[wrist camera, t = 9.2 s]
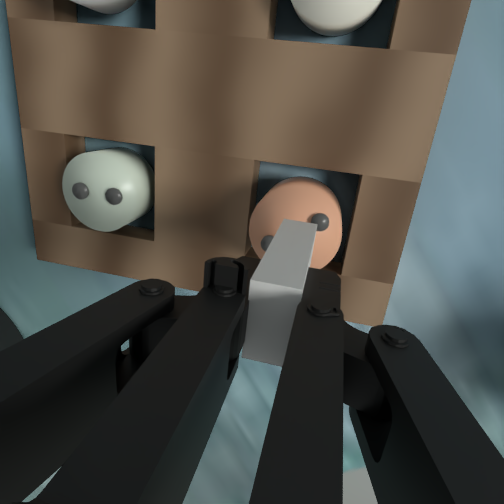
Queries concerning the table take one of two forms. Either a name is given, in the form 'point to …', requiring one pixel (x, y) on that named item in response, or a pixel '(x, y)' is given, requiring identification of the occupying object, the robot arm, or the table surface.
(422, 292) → the table surface
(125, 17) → the table surface
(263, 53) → the panel
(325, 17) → the button one
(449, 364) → the table surface
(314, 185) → the button three
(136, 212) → the button two
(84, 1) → the button blank
